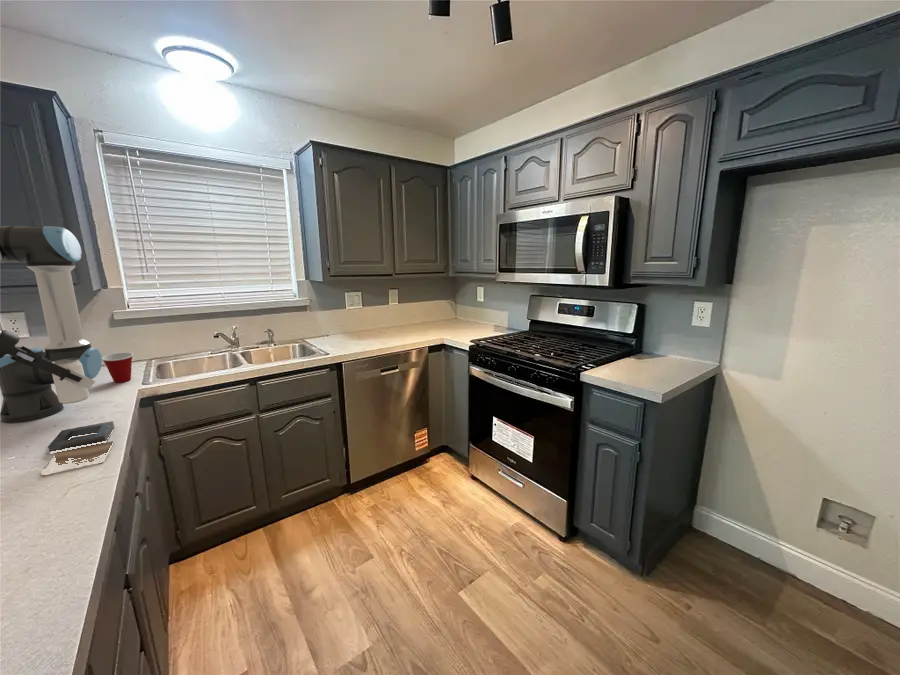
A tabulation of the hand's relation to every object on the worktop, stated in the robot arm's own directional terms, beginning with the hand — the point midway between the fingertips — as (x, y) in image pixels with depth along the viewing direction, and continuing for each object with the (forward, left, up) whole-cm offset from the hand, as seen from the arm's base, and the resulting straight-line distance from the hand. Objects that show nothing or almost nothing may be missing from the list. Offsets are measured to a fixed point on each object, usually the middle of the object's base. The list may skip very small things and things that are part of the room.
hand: (87, 382), depth 114 cm
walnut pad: (+15, -1, -17) cm, 23 cm away
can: (+2, -3, -4) cm, 6 cm away
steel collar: (+1, -3, -17) cm, 18 cm away
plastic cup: (-66, -4, -18) cm, 68 cm away
